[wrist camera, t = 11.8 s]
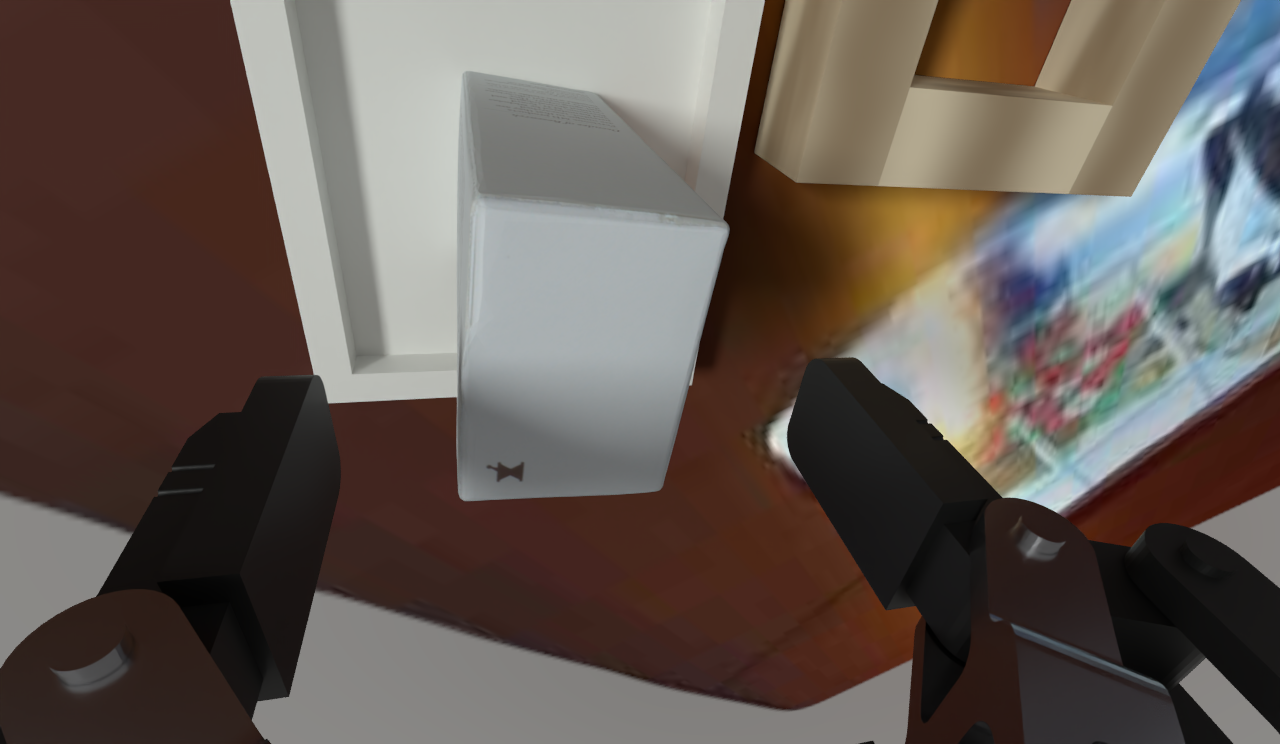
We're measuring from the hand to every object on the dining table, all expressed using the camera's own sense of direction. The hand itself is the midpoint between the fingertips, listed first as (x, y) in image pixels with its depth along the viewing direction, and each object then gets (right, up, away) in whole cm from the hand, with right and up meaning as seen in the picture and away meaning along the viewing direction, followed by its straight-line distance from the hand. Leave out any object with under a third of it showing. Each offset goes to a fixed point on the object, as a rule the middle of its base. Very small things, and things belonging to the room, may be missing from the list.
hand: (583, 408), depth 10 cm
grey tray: (-3, +7, +10) cm, 13 cm away
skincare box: (-3, +7, +10) cm, 13 cm away
